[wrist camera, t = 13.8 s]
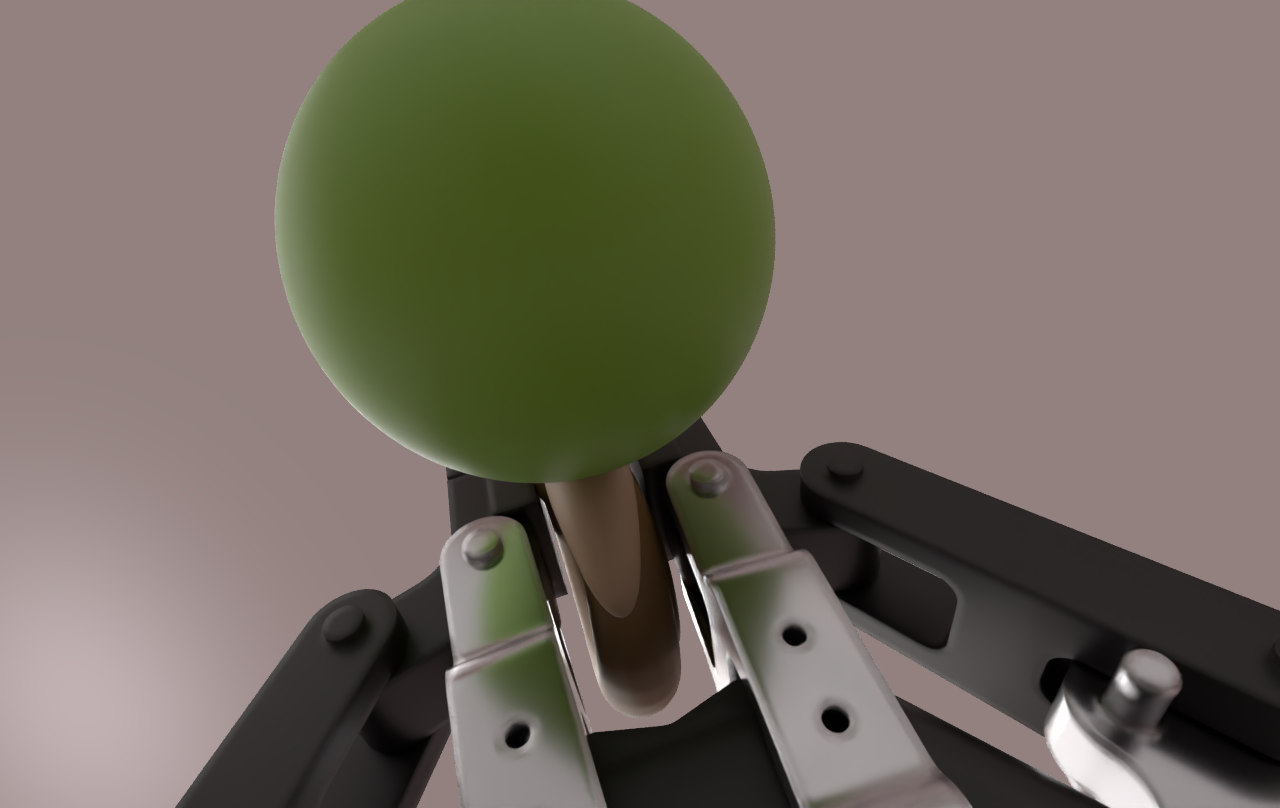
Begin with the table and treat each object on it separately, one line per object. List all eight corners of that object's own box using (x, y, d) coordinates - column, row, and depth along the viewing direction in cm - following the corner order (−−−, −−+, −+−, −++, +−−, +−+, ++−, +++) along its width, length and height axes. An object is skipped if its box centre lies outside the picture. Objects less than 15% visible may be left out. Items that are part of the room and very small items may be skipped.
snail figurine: (266, -4, 9) (486, 577, 16) (5, 59, 4) (506, 879, 11) (658, -58, 9) (701, 521, 16) (914, -69, 4) (816, 779, 11)
